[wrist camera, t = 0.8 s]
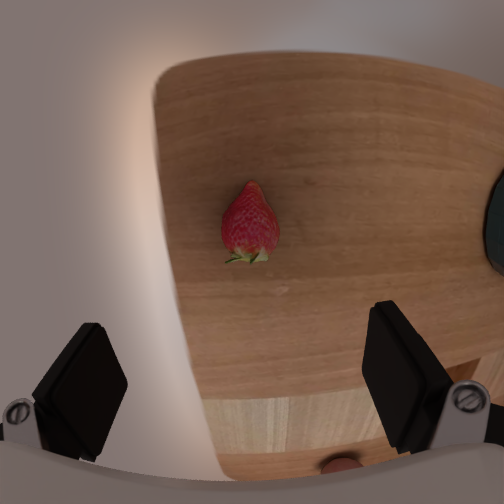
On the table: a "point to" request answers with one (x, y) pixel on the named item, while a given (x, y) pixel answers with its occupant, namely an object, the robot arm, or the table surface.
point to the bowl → (496, 229)
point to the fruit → (250, 226)
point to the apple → (340, 465)
